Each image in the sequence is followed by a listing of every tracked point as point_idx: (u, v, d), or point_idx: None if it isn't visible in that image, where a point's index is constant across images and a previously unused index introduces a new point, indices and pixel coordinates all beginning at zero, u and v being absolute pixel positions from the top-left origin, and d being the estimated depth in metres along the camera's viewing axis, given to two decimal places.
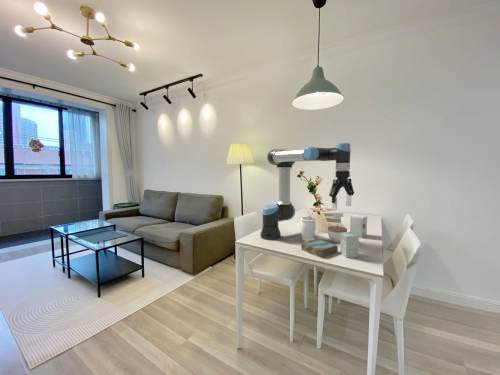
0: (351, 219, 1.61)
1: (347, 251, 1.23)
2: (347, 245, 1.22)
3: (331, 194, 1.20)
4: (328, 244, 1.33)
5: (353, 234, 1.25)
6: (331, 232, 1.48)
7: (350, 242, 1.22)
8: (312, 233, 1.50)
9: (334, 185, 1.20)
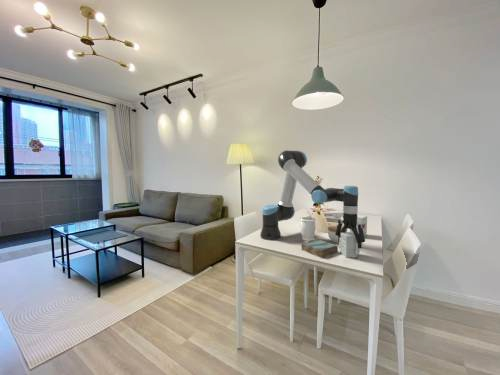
0: None
1: (347, 251, 1.23)
2: (347, 245, 1.22)
3: None
4: (328, 244, 1.33)
5: (353, 234, 1.25)
6: (331, 232, 1.48)
7: (350, 242, 1.22)
8: (312, 233, 1.50)
9: None
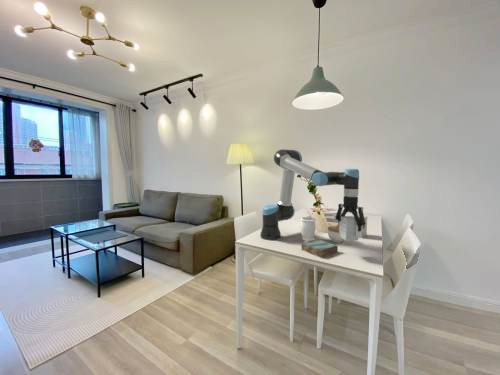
0: None
1: (347, 234, 1.22)
2: (347, 228, 1.22)
3: None
4: (328, 244, 1.33)
5: (353, 217, 1.24)
6: (331, 232, 1.48)
7: (350, 225, 1.22)
8: (312, 233, 1.50)
9: None
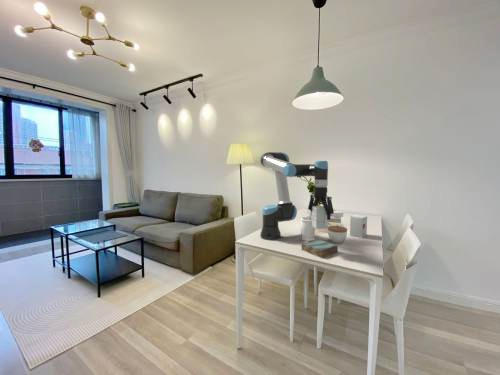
0: (351, 219, 1.61)
1: (317, 223, 1.28)
2: (317, 217, 1.28)
3: None
4: (328, 244, 1.33)
5: (323, 207, 1.30)
6: (331, 232, 1.48)
7: (320, 214, 1.28)
8: (312, 233, 1.50)
9: None
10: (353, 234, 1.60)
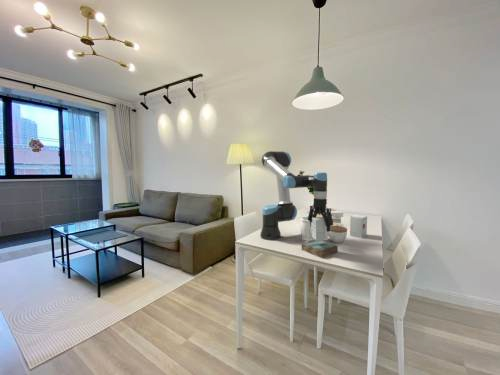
0: (351, 219, 1.61)
1: (317, 234, 1.29)
2: (317, 228, 1.28)
3: None
4: (328, 244, 1.33)
5: None
6: (331, 232, 1.48)
7: (320, 226, 1.28)
8: None
9: None
10: (353, 234, 1.60)
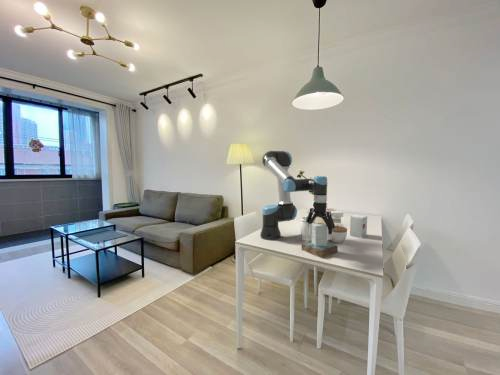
0: (351, 219, 1.61)
1: (316, 240, 1.29)
2: (316, 235, 1.29)
3: None
4: (328, 244, 1.33)
5: (322, 224, 1.31)
6: None
7: (319, 232, 1.29)
8: None
9: None
10: (353, 234, 1.60)
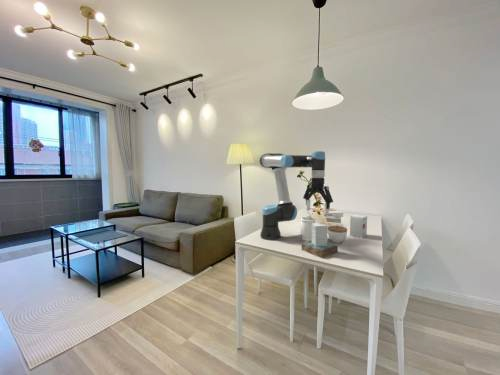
0: (351, 219, 1.61)
1: (316, 240, 1.29)
2: (316, 235, 1.29)
3: None
4: (328, 244, 1.33)
5: (322, 224, 1.31)
6: (331, 232, 1.48)
7: (319, 232, 1.29)
8: None
9: None
10: (353, 234, 1.60)
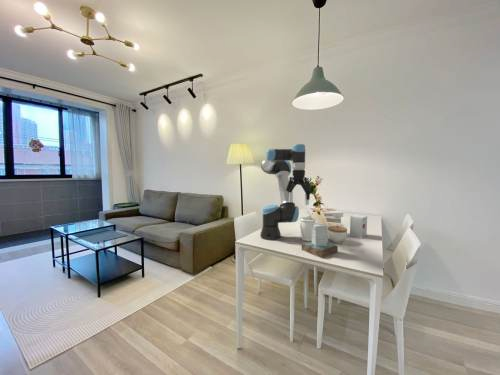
0: (351, 219, 1.61)
1: (316, 240, 1.29)
2: (316, 235, 1.29)
3: None
4: (328, 244, 1.33)
5: (322, 224, 1.31)
6: (331, 232, 1.48)
7: (319, 232, 1.29)
8: None
9: None
10: (353, 234, 1.60)
